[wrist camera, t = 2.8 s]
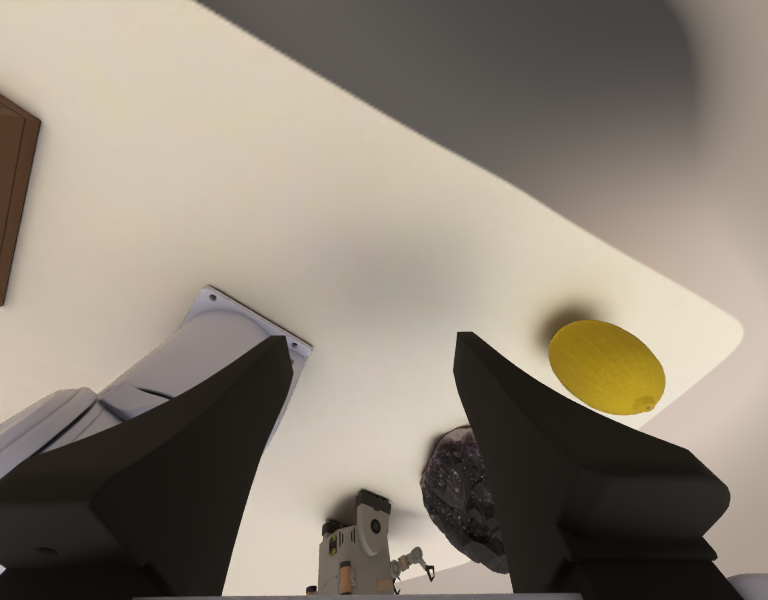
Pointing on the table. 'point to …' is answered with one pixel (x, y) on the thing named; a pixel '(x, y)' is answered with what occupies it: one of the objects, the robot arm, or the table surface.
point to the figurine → (361, 554)
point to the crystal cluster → (463, 500)
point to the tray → (13, 177)
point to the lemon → (606, 367)
